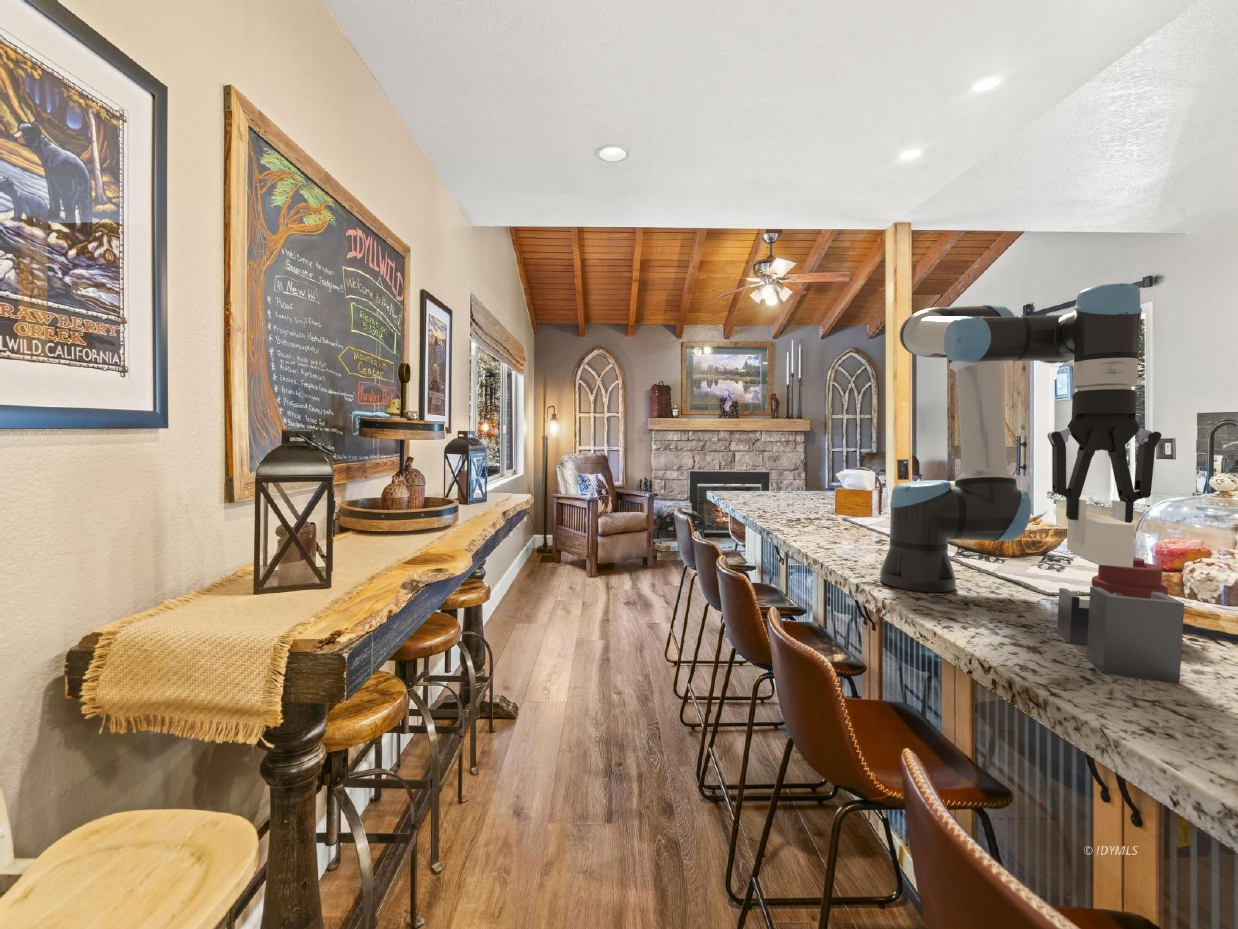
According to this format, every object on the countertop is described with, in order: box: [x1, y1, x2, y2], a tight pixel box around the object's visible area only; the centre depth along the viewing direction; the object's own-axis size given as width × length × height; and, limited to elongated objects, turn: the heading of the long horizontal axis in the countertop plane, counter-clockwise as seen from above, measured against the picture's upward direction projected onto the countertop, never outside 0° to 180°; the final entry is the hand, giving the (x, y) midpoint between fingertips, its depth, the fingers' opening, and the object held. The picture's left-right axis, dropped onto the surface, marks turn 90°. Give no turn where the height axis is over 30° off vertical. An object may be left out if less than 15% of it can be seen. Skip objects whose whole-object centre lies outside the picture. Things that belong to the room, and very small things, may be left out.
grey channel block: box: [1056, 587, 1124, 646], centre depth 95 cm, size 6×8×8 cm
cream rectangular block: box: [1066, 513, 1136, 567], centre depth 88 cm, size 14×4×6 cm, turn 157°
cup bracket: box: [1086, 585, 1185, 684], centre depth 82 cm, size 6×8×11 cm
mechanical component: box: [1091, 556, 1169, 599], centre depth 101 cm, size 12×10×10 cm
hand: (1097, 542), depth 89 cm, fingers closed on cream rectangular block, 4 cm apart
